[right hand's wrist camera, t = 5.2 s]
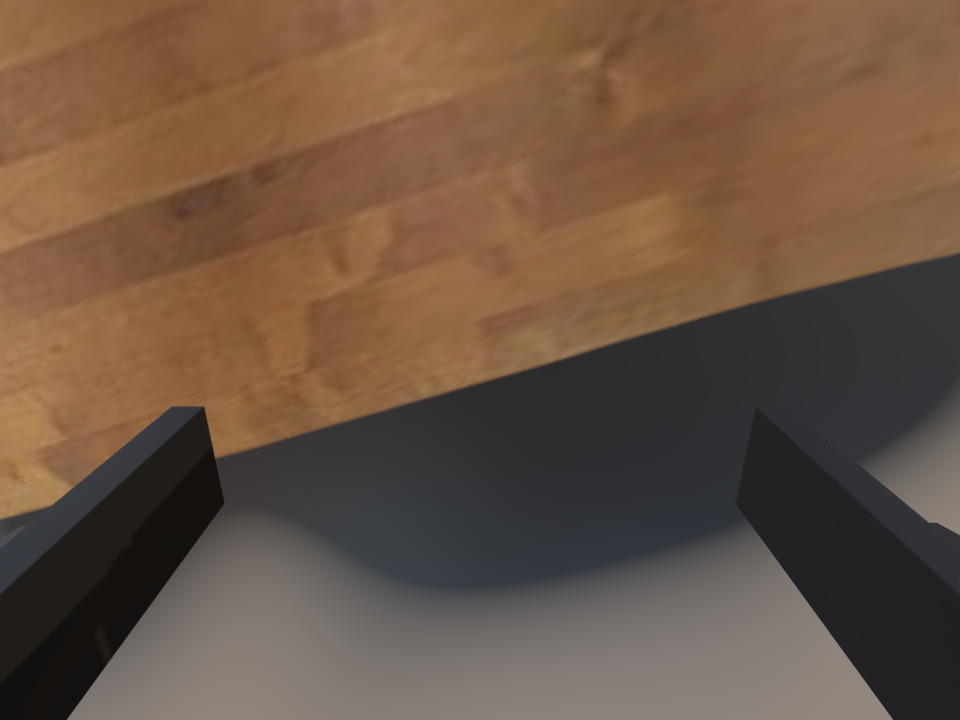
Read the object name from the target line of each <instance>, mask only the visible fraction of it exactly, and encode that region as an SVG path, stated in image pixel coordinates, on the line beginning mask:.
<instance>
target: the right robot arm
mask: <svg viewBox="0 0 960 720" xmlns="http://www.w3.org/2000/svg"><path fill="white" fill-rule="evenodd" d="M223 504H224V499H223V494H222V490H221V485H220V480H219V475H218V471H217V466H216V461H215V456H214V451H213V447H212V442H211V437H210V432H209V428H208V423H207V418H206V413H205V409H204V407H171V408H170V409H168V410H167V411H166V412H165V413H164V414H162V415H161V416H160V417H159V418H157V419H156V420H155V421H154V422H153V423H151V424H150V425H149V426H148V427H147V428H145V429H144V430H143V431H142V432H141V433H139V434H138V435H137V436H136V437H134V438H133V439H132V440H131V441H130V442H128V443H127V444H126V445H125V446H124V447H122V448H121V449H120V450H119V451H118V452H116V453H115V454H114V455H113V456H111V457H110V458H109V459H108V460H107V461H105V462H104V463H103V464H102V465H101V466H99V467H98V468H97V469H96V470H95V471H93V472H92V473H91V474H90V475H88V476H87V477H86V478H85V479H84V480H82V481H81V482H80V483H79V484H78V485H76V486H75V487H74V488H73V489H72V490H70V491H69V492H68V493H67V494H65V495H64V496H63V497H62V498H61V499H59V500H58V501H57V502H56V503H55V504H53V505H52V506H51V507H50V508H48V509H47V510H46V511H45V512H44V513H42V514H41V515H40V516H39V517H38V518H36V519H35V520H34V521H33V522H32V523H30V524H29V525H23V526H21V527H19V528H17V529H15V530H13V531H12V532H10V533H8V534H6V535H4V536H2V537H1V538H0V720H67V719H68V717H69V716H70V715H71V713H72V712H73V710H74V709H75V708H76V706H77V705H78V704H79V702H80V701H81V699H82V698H83V697H84V695H85V694H86V693H87V691H88V690H89V688H90V687H91V686H92V684H93V683H94V682H95V680H96V679H97V677H98V676H99V675H100V673H101V672H102V671H103V669H104V668H105V666H106V665H107V664H108V662H109V661H110V659H111V658H112V657H113V655H114V654H115V653H116V651H117V650H118V649H119V647H120V646H121V644H122V643H123V642H124V640H125V639H126V638H127V636H128V635H129V633H130V632H131V631H132V629H133V628H134V627H135V625H136V624H137V623H138V621H139V620H140V618H141V617H142V616H143V614H144V613H145V611H146V610H147V609H148V607H149V606H150V605H151V603H152V602H153V601H154V599H155V598H156V596H157V595H158V594H159V592H160V591H161V590H162V588H163V587H164V585H165V584H166V583H167V581H168V580H169V579H170V577H171V576H172V574H173V573H174V572H175V570H176V569H177V568H178V566H179V565H180V563H181V562H182V561H183V559H184V558H185V557H186V555H187V554H188V552H189V551H190V550H191V548H192V547H193V546H194V544H195V543H196V541H197V540H198V539H199V537H200V536H201V535H202V533H203V532H204V530H205V529H206V528H207V526H208V525H209V523H210V522H211V521H212V520H213V518H214V517H215V515H216V514H217V513H218V511H219V510H220V509H221V507H222V506H223ZM736 504H737V506H738V507H739V509H740V510H741V511H742V513H743V514H744V515H745V517H746V518H747V519H748V521H749V522H750V524H751V525H752V526H753V528H754V529H755V530H756V532H757V533H758V535H759V536H760V537H761V539H762V540H763V541H764V543H765V544H766V546H767V547H768V548H769V550H770V551H771V552H772V554H773V555H774V557H775V558H776V559H777V561H778V562H779V563H780V565H781V566H782V568H783V569H784V570H785V572H786V573H787V574H788V576H789V577H790V579H791V580H792V581H793V583H794V584H795V585H796V587H797V588H798V590H799V591H800V592H801V594H802V595H803V596H804V598H805V599H806V601H807V602H808V603H809V605H810V606H811V607H812V609H813V610H814V612H815V613H816V614H817V616H818V617H819V618H820V620H821V621H822V623H823V624H824V625H825V627H826V628H827V629H828V631H829V632H830V633H831V635H832V636H833V638H834V639H835V640H836V642H837V643H838V644H839V646H840V647H841V649H842V650H843V651H844V653H845V654H846V655H847V657H848V658H849V660H850V661H851V662H852V664H853V665H854V666H855V668H856V669H857V671H858V672H859V673H860V675H861V676H862V677H863V679H864V680H865V682H866V683H867V684H868V686H869V687H870V688H871V690H872V691H873V692H874V694H875V695H876V697H877V698H878V699H879V701H880V702H881V704H882V705H883V706H884V708H885V709H886V710H887V712H888V713H889V715H890V716H891V717H892V719H893V720H960V535H958V534H956V533H954V532H953V531H951V530H949V529H947V528H945V527H943V526H941V525H940V524H938V523H928V522H927V521H926V520H925V519H924V518H922V517H921V516H920V515H919V514H918V513H916V512H915V511H914V510H913V509H911V508H910V507H909V506H908V505H907V504H905V503H904V502H903V501H902V500H901V499H899V498H898V497H897V496H896V495H895V494H893V493H892V492H891V491H890V490H888V489H887V488H886V487H885V486H884V485H882V484H881V483H880V482H879V481H878V480H876V479H875V478H874V477H873V476H872V475H870V474H869V473H868V472H867V471H865V470H864V469H863V468H862V467H861V466H859V465H858V464H857V463H856V462H855V461H853V460H852V459H851V458H850V457H849V456H847V455H846V454H845V453H844V452H842V451H841V450H840V449H839V448H838V447H836V446H835V445H834V444H833V443H832V442H830V441H829V440H828V439H827V438H826V437H824V436H823V435H822V434H821V433H819V432H818V431H817V430H816V429H815V428H813V427H812V426H811V425H810V424H809V423H807V422H806V421H805V420H804V419H803V418H801V417H800V416H799V415H798V414H796V413H795V412H794V411H793V410H792V409H790V408H789V407H756V409H755V413H754V418H753V423H752V428H751V432H750V437H749V442H748V447H747V451H746V456H745V461H744V466H743V470H742V475H741V480H740V485H739V490H738V494H737V499H736Z"/></svg>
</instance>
